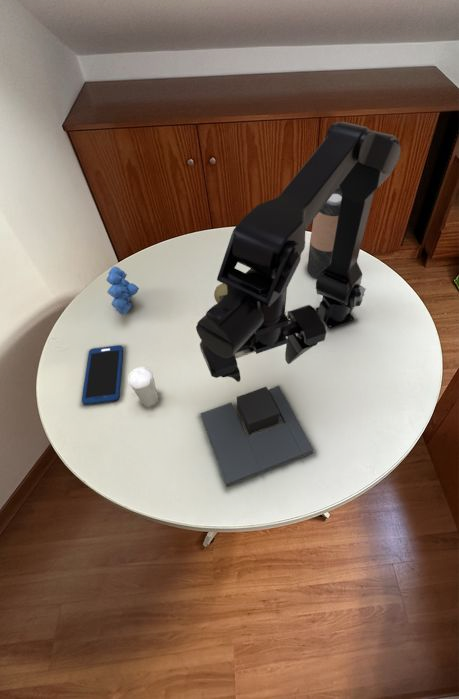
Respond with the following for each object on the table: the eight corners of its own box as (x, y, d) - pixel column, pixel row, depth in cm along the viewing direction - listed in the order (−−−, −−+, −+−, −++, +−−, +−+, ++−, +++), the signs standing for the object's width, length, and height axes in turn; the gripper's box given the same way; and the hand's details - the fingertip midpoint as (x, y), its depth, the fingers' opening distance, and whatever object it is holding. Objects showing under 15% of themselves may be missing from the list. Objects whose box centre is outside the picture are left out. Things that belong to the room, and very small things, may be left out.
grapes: (145, 324, 85) (131, 285, 76) (115, 328, 85) (98, 290, 75) (145, 290, 92) (132, 251, 83) (118, 294, 92) (102, 254, 83)
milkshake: (155, 416, 70) (142, 388, 62) (134, 403, 72) (119, 375, 64) (169, 398, 73) (159, 369, 65) (149, 386, 74) (136, 357, 67)
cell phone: (123, 346, 81) (122, 344, 81) (119, 400, 73) (118, 398, 72) (90, 350, 81) (89, 348, 80) (82, 405, 72) (80, 403, 72)
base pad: (278, 389, 72) (278, 385, 71) (312, 453, 64) (313, 449, 63) (201, 416, 70) (200, 413, 68) (226, 487, 61) (226, 484, 60)
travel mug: (339, 279, 91) (357, 205, 75) (307, 280, 91) (319, 206, 75) (334, 260, 95) (349, 185, 80) (304, 261, 96) (314, 187, 80)
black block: (265, 397, 72) (266, 386, 68) (279, 423, 68) (280, 412, 65) (237, 407, 70) (236, 396, 67) (248, 434, 67) (248, 424, 64)
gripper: (298, 253, 56) (291, 321, 69) (182, 288, 53) (196, 353, 65) (336, 300, 50) (321, 366, 62) (206, 343, 47) (217, 404, 59)
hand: (263, 370), depth 62 cm, fingers open, 9 cm apart
